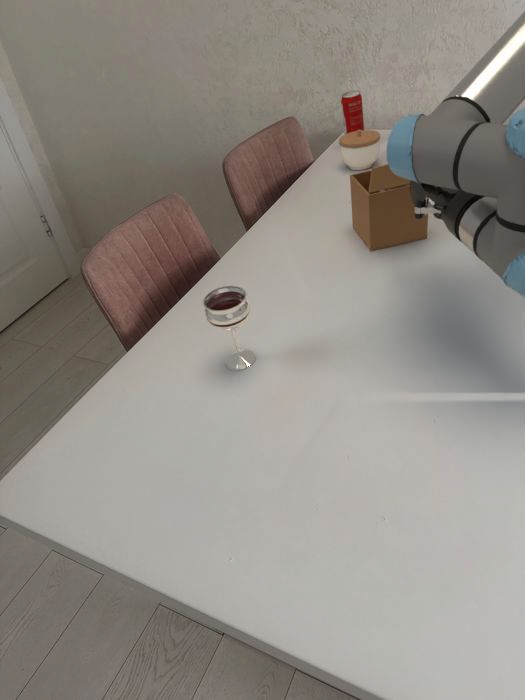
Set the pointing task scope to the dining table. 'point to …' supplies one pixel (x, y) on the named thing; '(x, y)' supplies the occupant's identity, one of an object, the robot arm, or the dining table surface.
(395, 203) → the carton
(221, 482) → the dining table surface
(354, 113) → the beverage can
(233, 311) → the wineglass
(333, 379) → the dining table surface
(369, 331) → the dining table surface
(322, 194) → the dining table surface
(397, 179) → the carton flap
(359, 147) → the trinket box
